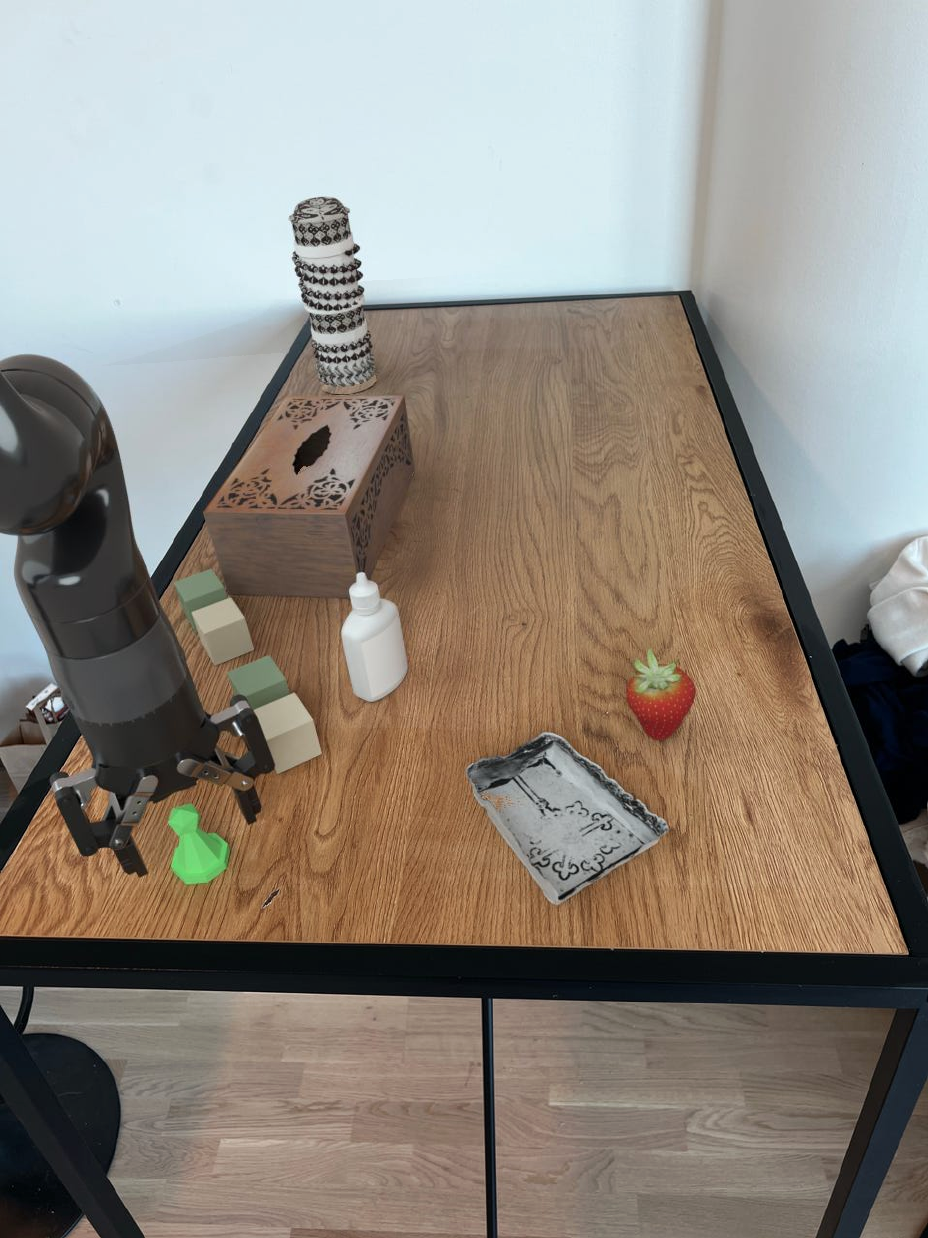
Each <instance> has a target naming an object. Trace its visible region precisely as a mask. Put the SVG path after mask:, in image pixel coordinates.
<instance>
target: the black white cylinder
mask: <svg viewBox="0 0 928 1238" xmlns="http://www.w3.org/2000/svg"><path fill="white" fill-rule="evenodd" d="M350 213H351V209H350V208H349V207H347V206H345V205H344V204H343V203H342V202H341V201H340V200H339V199H338V198H337V197H333V196H318V197H311V198H307V199H304V200H302V201H299V202H298V203H297V204H296V205H295V207H294V210H293V213H291V215H289V216H288V221H290V224H291V227H292V233H293V237H294V240H293V247H294V251H293V252H292V257H291V261H292V262H293V264H294V265H295V267H294V272H295V276H296V277H298V278H299V280H298V281H299V282H298V284H297V285H298V287H299V288H300V291H301V294H300V297H301V300H302V303H304V306H303V307H304V310H305V311H306V312H308V314H309V321H310V324H311V325H310V332H311V338H312V339H311V342H310V343H311V348H313V349H314V350H313V357H314V358H315V359H316V360H315V369H316V371H317V379H318V381H319V383H320V382H322V383H324V384H325V385H329V384H330V385H331V386H333V387H336V386H337V385H340V386H341V387H346V385H351V386H354V385H355V384H359V383H360V384H363V383H364V382H365V381H369V380H370V379H371V377H373V376H374V375H375V374H376V371H377V367H376V364H375V363H374V362H375V360H376V357H375V356H374V352H372V349H373V348H374V347H373V344H372V341H371V340H370V339H371V338H372V334H371V332H370V330H369V329H368V324H367V319H366V317H365V314H364V313H365V312H364V307H363V304H364V303H365V299H366V297H365V295H364V293H365V287H363V286H362V285H360V284H359V281H361V279H362V278H364V273H363V272H362V271H360V270H358V269H360V268H361V266H362V263H363V262H362V261H361V260H360V259H358V258H357V257H355V254H356V255H357V253H358V252H359V251H360V250H361V246H360V245H359V244H357V243H355V241H354V236H353V235H354V234H353V232H352V230H351V223H350V218H349V214H350Z"/></svg>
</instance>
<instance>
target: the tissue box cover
mask: <svg viewBox="0 0 928 1238" xmlns="http://www.w3.org/2000/svg"><path fill="white" fill-rule="evenodd" d="M405 397H406V396H405V394H376V395H375V394H357V395H356V394H350V395H286V396H285V397H284V398H283V400H282V401H281V403H280V404H279V405H278V407H277V408H276V409H275V411H274V412H273V414H272V415H271V416H270V417H269V420H268V421H266V424H265V425H264V426H263V427H262V429H261V431H259V433H258V435H257V436H256V437H255V439H254V440H253V441H252V443H251V444H250V446H249V447H248V448H247V450H246V451H245V453H244V454H243V455H242V457H241V459H240V460H239V461H238V462H237V464H236V465H235V467H234V468H233V469H232V471H231V472H230V474H229V475H228V476H227V478H226V479H225V481H223V483H222V485H221V486H220V487H219V489H218V490H217V492H216V493H215V494H214V496H213V497H212V498H211V500H210V501H209V503H208V504H207V506H206V507H205V509H204V510H203V511H202V515H203V517H204V520H205V524H206V527H207V530H208V534H209V537H210V540H211V544H212V547H213V551H214V554H215V557H216V560H217V563H218V566H219V570H220V573H221V576H222V580H223V583H224V587H225V591H226V594H227V595H239V596H240V595H241V596H267V597H293V598H294V597H297V598H325V599H351V598H350V594H349V589H350V587H351V586H352V585H353V584H354V583H356V578H357V574H358V573H360V572H363V573H365V575H366V577H367V580H370V581H371V577H372V575H373V573H374V570H375V568H376V565H377V562H378V561H379V559H380V555H381V553H382V551H383V548H384V546H385V543H386V541H387V539H388V537H389V534H390V532H391V530H392V528H393V525H394V522H395V520H396V518H397V515H398V512H399V510H400V508H401V506H402V503H403V501H404V499H405V496H406V493H407V491H408V489H409V486H410V484H411V482H410V481H412V479H413V477H412V474H413V472H414V470H415V471H416V468H415V461H414V454H413V446H412V440H411V439H412V438H411V431H410V424H409V418H408V409H407V403H406V398H405ZM303 466H306V467H308V466H309V467H308V468H307V469H305V470H304V471H303V472H301V473H299V474H298V472H299V471H300V469H301V468H302V467H303ZM414 473H415V472H414ZM413 475H414V474H413ZM411 478H412V479H411Z"/></svg>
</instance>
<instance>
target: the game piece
mask: <svg viewBox="0 0 928 1238" xmlns="http://www.w3.org/2000/svg"><path fill="white" fill-rule="evenodd" d="M201 818H202V815H201V814H200V813H199V812H198V810H197V808H196V807H195V806H194V805H193V803H191V802H190V803H186V804H183V805H179V806H175V807H173V808H172V809H171V812H170V816H169V818H168V821H167V823H168V825H169V826H170V827H171V829H172V830H173V831H174V833H175V834H176V835H177V837H179V840H178V845H177V847H175V849H174V853H173V857H172V861H171V865H170V868H171V869H172V873H173V874H174V875H176V876H177V878H178V879H180V880H181V881H182V882H183V883H184V884H185V885H197V884H208V883H210V882H211V881H213V880H214V879H215V878H216V877H218V876H219V875H221V874H222V873H223V872H224V871H225V870H227V868H228V863H229V858H230V853H231V849H230V845H229V844H228V842H227V841H225V840H224V839H223V838H222V837H221V836H220V835H218V834H217V833H216V832H209V833H207V832H206V831H205V830H203V829H201V828H200V827H199V824H200V821H201Z"/></svg>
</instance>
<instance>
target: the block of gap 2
mask: <svg viewBox="0 0 928 1238" xmlns="http://www.w3.org/2000/svg"><path fill="white" fill-rule="evenodd" d="M226 675H227V677H228V681H229V684H230V687H231V690H232V693H233V697H234V696H236V695H239V694H241V695H244V696H245V697H246V699H247V700H248V702H249V704H250V705H251V707H252V709H253V710H255V709H257V708H260V707H262V706H264V705H267V704H269V703H271V702H274V701H276V700H278V699H281V698H283V697H285V696H288V695H290V694H291V692H290V689H289V685H288V681H287V678H286V677H285V675H284V674H283V672H282V671H281V669H280V668H279V666H278V665H277V664H276V662H275V660H274V659H273V658H272V655H270V654H268V655H265V656H263V657H260V658H257V659H255V660H253V661H250V662H248V663H246V664H243V665H241V666H238V667H236V668H234V669H231V670H228V671H227V672H226Z"/></svg>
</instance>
